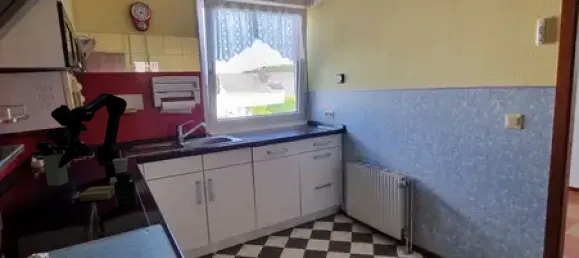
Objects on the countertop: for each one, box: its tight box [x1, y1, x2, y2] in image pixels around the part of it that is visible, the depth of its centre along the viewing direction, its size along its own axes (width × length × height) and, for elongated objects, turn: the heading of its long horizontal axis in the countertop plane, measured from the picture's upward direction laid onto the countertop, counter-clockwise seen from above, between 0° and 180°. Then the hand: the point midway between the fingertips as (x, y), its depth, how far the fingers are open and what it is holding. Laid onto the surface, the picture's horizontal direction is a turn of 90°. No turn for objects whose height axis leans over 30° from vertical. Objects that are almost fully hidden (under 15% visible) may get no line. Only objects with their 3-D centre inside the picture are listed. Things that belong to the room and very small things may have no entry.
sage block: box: [43, 153, 69, 186], centre depth 124 cm, size 5×5×11 cm
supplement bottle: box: [114, 171, 138, 210], centre depth 117 cm, size 7×7×12 cm
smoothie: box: [112, 149, 129, 174], centre depth 152 cm, size 6×6×14 cm
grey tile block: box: [109, 177, 117, 186], centre depth 142 cm, size 8×8×4 cm
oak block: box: [78, 185, 115, 203], centre depth 130 cm, size 10×10×3 cm
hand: (53, 167), depth 123 cm, fingers closed on sage block, 5 cm apart
